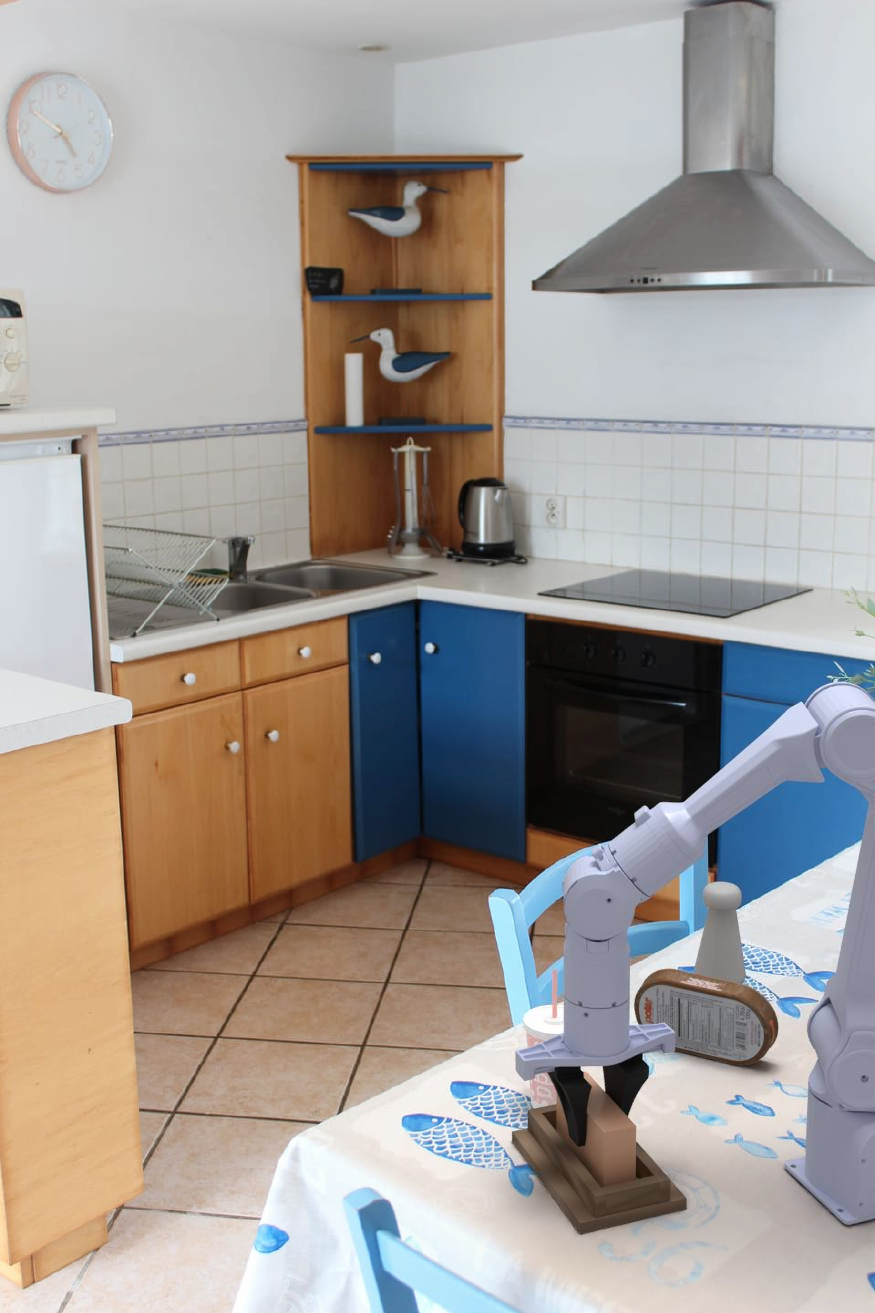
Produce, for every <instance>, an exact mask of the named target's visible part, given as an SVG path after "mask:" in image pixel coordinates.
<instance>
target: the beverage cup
mask: <svg viewBox="0 0 875 1313" xmlns="http://www.w3.org/2000/svg"><path fill="white" fill-rule="evenodd" d="M551 975H552V977H551V978H552V980H551V981H552V982H551V983H552V984H551V986H552V989H551V990H552V991H551V992H552V993H551V995H552V997H551V998H552V999H551V1000H552V1002H551V1003H552V1004H547V1005H539V1006H536V1007H534V1008H530V1009H528V1011H527V1012H525V1013H524V1015H523V1019H522V1021H523V1022H522V1023H523V1029H524V1031H525V1034H526V1035H525V1036H526V1045H527V1047H526V1048H528V1047H531V1046H534V1045H536V1044H538V1043H541V1042H543V1041H545V1040H548V1039H550V1038H552V1037H555V1036H557V1035H559V1034H562V1033H564V1004H562V1005H561V1004H558V970H557V969H552V970H551ZM529 1090H530V1104H531V1106H532V1109H534V1108H539V1107H544V1106H549V1105H554V1104H556V1089H555V1087H554V1085H553V1083H552V1081H551V1079H550V1077H549V1075H548V1073H542V1074H537V1075H535V1078H534V1079H532V1080H529Z"/></svg>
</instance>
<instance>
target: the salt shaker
mask: <svg viewBox="0 0 875 1313" xmlns="http://www.w3.org/2000/svg"><path fill="white" fill-rule="evenodd" d="M742 898H743V896H742V890H741V889H740V888H739V886H737V885H736V884H735V883H732V882H728V881H712V882H709V883H708V884H706V885H705V887H704V888H703V891H702V900H703V904H704V906H706V907H707V908H708V910H707V914H706V918H705V922H704V925H703V930H702V936H701V939H700V942H699V948H698V951H697V952H698V953H697V957H696V960H695V964H694V968H693V973H695V974H699V975H704V976H708V977H713V978H717V979H722V980H726V981H731V982H735V983H740V984H744V982H745V980H746V977H747V972H746V966H745V958H744V954H743V953H744V952H743V946H742V939H741V932H740V931H741V930H740V926H739V919H738V918H739V917H738V912H737V909H738V908H740V906H741V904H742Z"/></svg>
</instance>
